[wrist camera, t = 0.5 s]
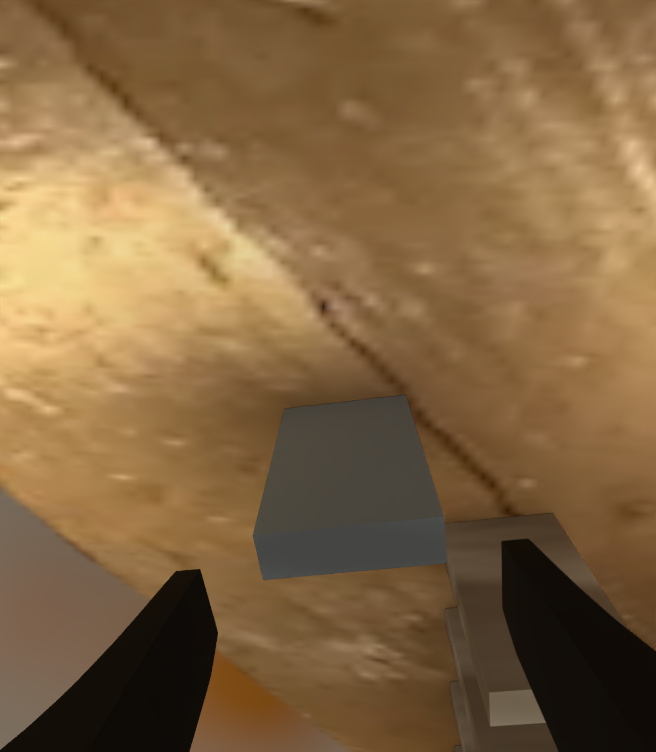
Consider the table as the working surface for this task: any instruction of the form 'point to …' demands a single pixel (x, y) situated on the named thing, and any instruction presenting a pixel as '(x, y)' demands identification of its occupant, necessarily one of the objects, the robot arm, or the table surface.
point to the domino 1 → (348, 493)
